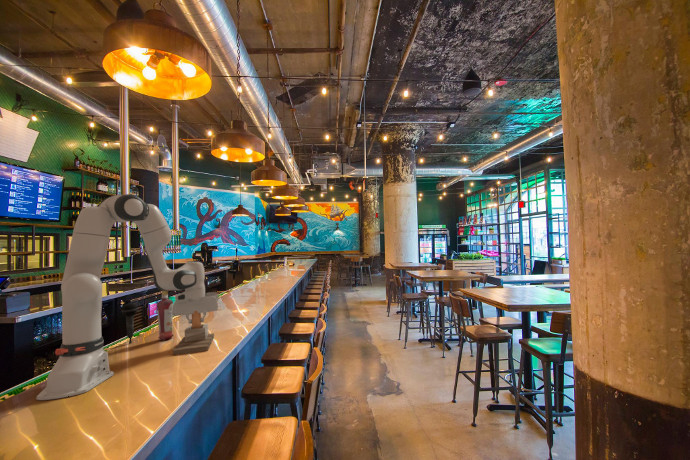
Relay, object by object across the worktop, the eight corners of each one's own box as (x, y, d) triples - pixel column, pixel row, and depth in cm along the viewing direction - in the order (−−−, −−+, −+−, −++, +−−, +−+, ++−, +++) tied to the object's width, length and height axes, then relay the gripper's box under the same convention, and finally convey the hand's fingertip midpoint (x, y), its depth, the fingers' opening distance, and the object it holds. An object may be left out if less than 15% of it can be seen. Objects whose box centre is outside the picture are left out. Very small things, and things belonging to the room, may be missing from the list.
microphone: (123, 342, 160) (122, 303, 161) (139, 340, 163) (138, 301, 164) (120, 346, 154) (119, 305, 155) (137, 344, 157) (136, 303, 158)
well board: (207, 350, 141) (207, 333, 141) (172, 355, 137) (172, 337, 137) (214, 337, 162) (213, 322, 162) (184, 340, 158) (183, 325, 158)
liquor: (169, 341, 159) (167, 285, 160) (154, 341, 160) (153, 285, 161) (177, 336, 167) (175, 283, 168) (163, 337, 167) (161, 284, 168)
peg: (201, 335, 153) (200, 310, 154) (192, 336, 152) (191, 311, 152) (201, 333, 157) (200, 309, 157) (192, 334, 155) (191, 310, 156)
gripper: (218, 290, 162) (219, 318, 162) (172, 295, 154) (173, 324, 153) (218, 292, 156) (219, 320, 156) (171, 297, 148) (172, 327, 148)
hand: (196, 322), depth 155 cm, fingers closed on peg, 4 cm apart
